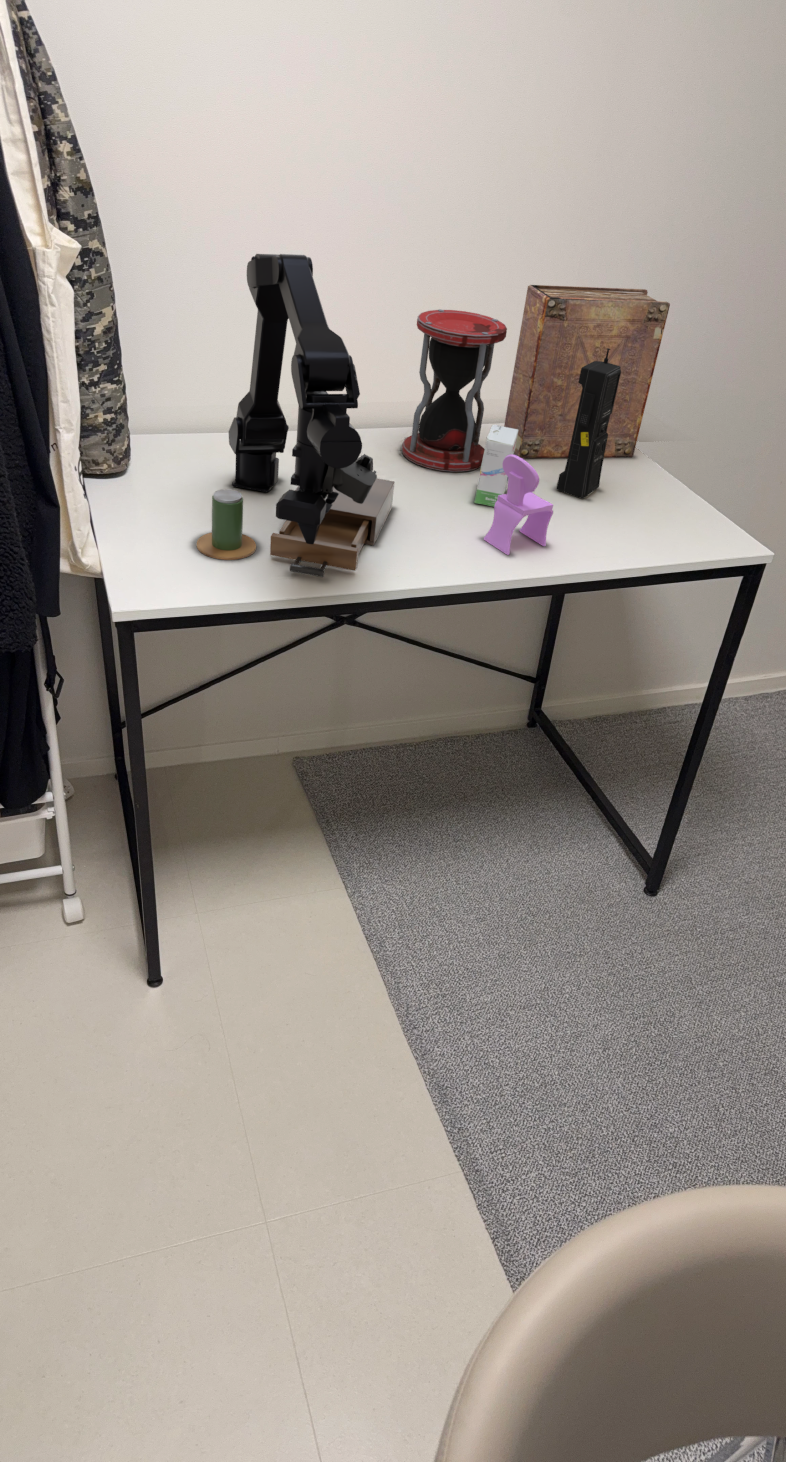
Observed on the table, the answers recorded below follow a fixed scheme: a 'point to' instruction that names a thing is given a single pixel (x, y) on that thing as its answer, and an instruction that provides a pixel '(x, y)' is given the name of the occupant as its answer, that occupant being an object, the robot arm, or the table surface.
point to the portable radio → (590, 428)
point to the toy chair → (519, 506)
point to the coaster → (209, 550)
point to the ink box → (495, 464)
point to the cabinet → (368, 507)
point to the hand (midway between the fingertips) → (310, 543)
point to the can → (227, 519)
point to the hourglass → (452, 389)
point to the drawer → (322, 544)
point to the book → (581, 364)
